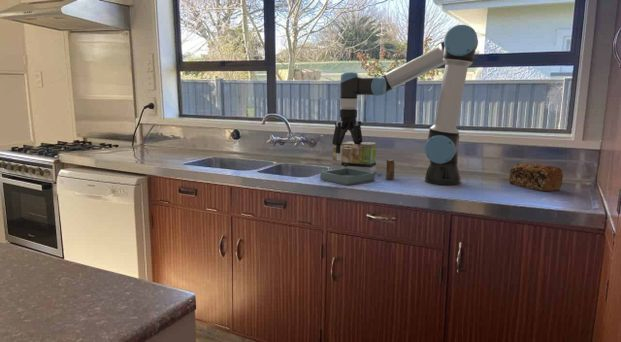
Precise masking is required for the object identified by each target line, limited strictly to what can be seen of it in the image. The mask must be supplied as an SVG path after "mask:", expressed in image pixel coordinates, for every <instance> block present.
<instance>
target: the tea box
mask: <svg viewBox="0 0 621 342" xmlns="http://www.w3.org/2000/svg"><path fill="white" fill-rule="evenodd" d="M353 144H354V141H346V142H342V144H341V146H347V145H348V146H353ZM359 147H362V161H360V162H358V163H356V162H349V163H346V162H340V164H341V165H340V166H341V168H340V169H343V168H350V169H355V170H360V171H366V172H371V173H376V170H377V169H376V168H377V167H376V166H377V142H368V141H367V142H365V141H364V142H363V141H362V143H361V144H359Z"/></svg>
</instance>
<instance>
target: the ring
mask: <svg viewBox="0 0 621 342" xmlns="http://www.w3.org/2000/svg"><path fill="white" fill-rule="evenodd" d="M332 148H333V149H332V161H335V162H340V163H341V162H346V163H349V162H356V163H358V162H360V161H362V147H355V146H348V145H347V146H342V161H338V160H337V153H336V146H333V147H332Z"/></svg>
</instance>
